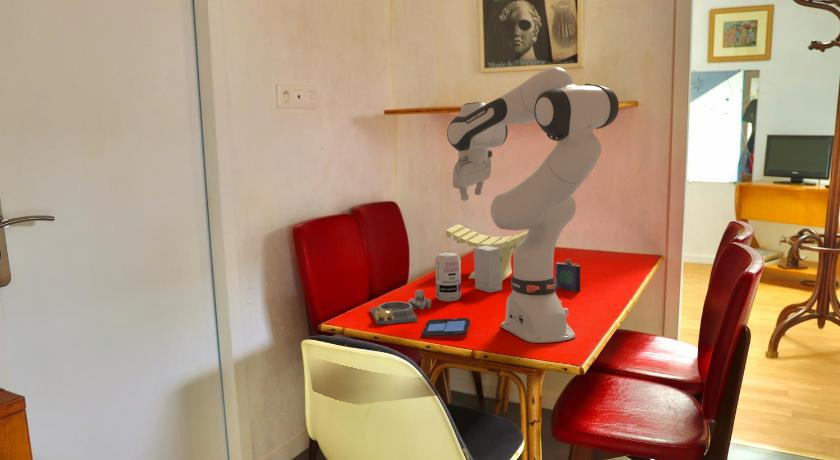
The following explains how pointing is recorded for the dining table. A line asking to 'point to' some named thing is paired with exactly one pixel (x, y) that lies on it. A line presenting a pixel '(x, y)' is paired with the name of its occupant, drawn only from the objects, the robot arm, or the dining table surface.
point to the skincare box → (487, 268)
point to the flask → (567, 276)
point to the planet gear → (420, 300)
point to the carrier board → (393, 313)
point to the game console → (446, 328)
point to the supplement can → (448, 276)
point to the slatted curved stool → (488, 244)
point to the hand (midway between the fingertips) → (471, 197)
